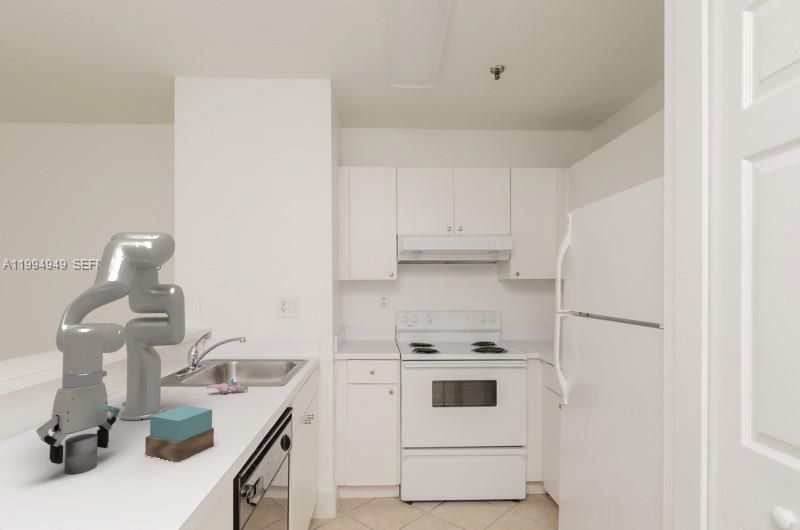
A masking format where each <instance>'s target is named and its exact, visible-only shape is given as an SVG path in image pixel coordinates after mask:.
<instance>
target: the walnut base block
mask: <svg viewBox="0 0 800 530" xmlns="http://www.w3.org/2000/svg"><path fill="white" fill-rule="evenodd" d="M214 431H215V428H214V427H212V429H210V430H208V431H205V432H203V433H200V434H198V435H195V436H193V437H190V438H188V439H185V440H183V441H181V442H176V441H170V440H165V439H160V438H154V437H150V435H148V436H146V437H145V442H144V443H145V447H144V448H145V449H144V450H145V451H144V452H145V453H144V454H145V455H147V456H151V457H150V458H152V457H156V458H160V459H159V460H161V459H164V460H163V461H166V460H168V461H167V462H171V461H173V462H172V463H175V462H177V463H176V464H179V463H181V462H183V461H185V460H187V459H189V458H192V457H193V455H194V456H196V455H198V454H200V453H202V452H205V451H206V450H209V449H211V448H213V447H214V446H215V443H214V441H215V432H214ZM197 453H198V454H197ZM195 454H196V455H195ZM145 455H144V456H145ZM147 456H146V457H147ZM191 456H192V457H191ZM156 458H155V459H156ZM182 460H183V461H182ZM180 461H181V462H180ZM178 462H179V463H178Z"/></svg>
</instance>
